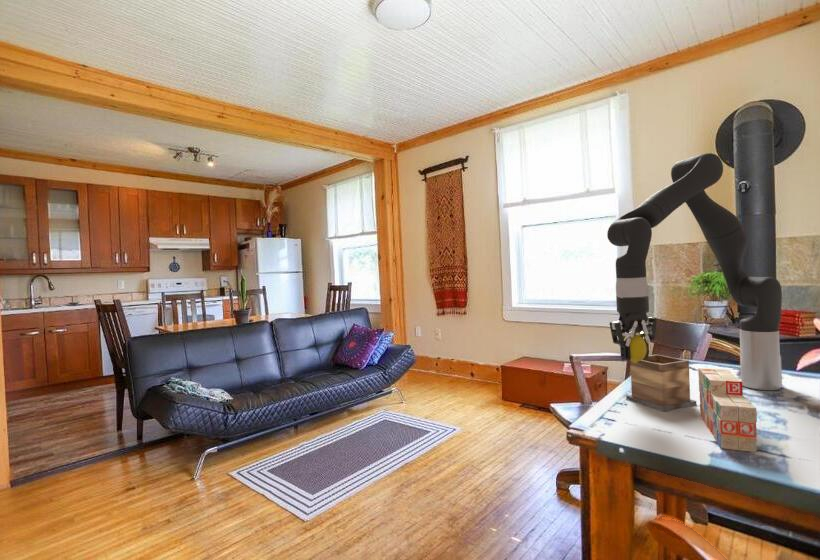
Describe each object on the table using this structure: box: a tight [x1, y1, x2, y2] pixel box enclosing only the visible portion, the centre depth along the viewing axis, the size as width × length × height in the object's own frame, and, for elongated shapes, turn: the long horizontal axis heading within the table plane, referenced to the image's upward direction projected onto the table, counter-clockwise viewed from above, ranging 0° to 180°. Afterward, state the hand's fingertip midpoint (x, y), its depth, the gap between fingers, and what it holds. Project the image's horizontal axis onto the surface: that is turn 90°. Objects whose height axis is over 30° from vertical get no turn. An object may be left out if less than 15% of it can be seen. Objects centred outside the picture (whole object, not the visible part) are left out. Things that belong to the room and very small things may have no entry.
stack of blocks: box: [697, 368, 758, 453], centre depth 96 cm, size 21×6×12 cm, turn 155°
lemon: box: [624, 334, 647, 363], centre depth 111 cm, size 6×6×8 cm
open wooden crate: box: [625, 354, 698, 412], centre depth 118 cm, size 12×12×12 cm
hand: (635, 358), depth 111 cm, fingers closed on lemon, 5 cm apart
